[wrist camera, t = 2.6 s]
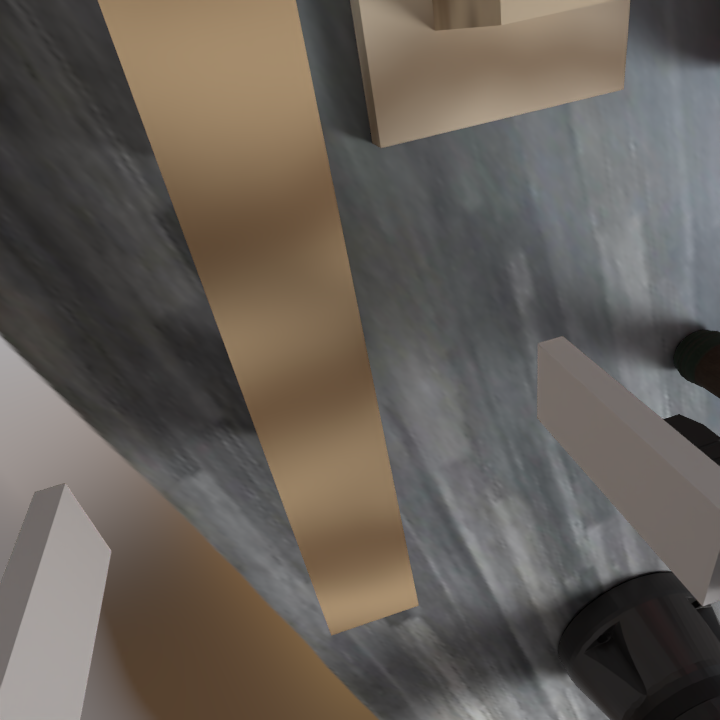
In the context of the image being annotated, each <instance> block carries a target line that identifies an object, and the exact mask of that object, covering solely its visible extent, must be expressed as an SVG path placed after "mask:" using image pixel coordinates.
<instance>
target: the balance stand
mask: <svg viewBox="0 0 720 720" xmlns="http://www.w3.org/2000/svg"><path fill="white" fill-rule="evenodd" d="M350 4H351V10H352V17H353V23H354V29H355V36H356V42H357V48H358V55H359V61H360V67H361V74H362V80H363V86H364V93H365V99H366V106H367V112H368V118H369V125H370V131H371V137H372V143H373V144H375V145H377V146H378V147H380V148H383V147H388V146H392V145H396V144H400V143H404V142H408V141H412V140H416V139H421V138H425V137H429V136H433V135H437V134H441V133H445V132H450V131H454V130H458V129H462V128H466V127H470V126H474V125H478V124H483V123H487V122H491V121H495V120H499V119H503V118H507V117H511V116H516V115H520V114H524V113H528V112H532V111H536V110H540V109H544V108H549V107H553V106H557V105H561V104H565V103H569V102H573V101H578V100H582V99H586V98H590V97H594V96H598V95H602V94H606V93H611V92H615V91H619V90H623V89H624V77H625V64H626V50H627V37H628V24H629V11H630V0H350Z"/></svg>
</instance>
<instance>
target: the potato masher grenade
mask: <svg viewBox="0 0 720 720" xmlns="http://www.w3.org/2000/svg"><path fill="white" fill-rule="evenodd" d="M674 364H675V366H676V367H677V369H678V371H679V373H680V375H681V376H682V377H684V378H685V379H686V380H687V381H690V382H692V383H695V384H696V385H698V386H700V387H703V388H705V389H706V390H708V391H709V392H711V393H712V394H714V395H715V396H717V397H718V398H720V332H718V331H709V330H700V331H697V332H694V333H692V334H690V335H689V336H687V337H686V338H685V339H684V340H683V341H682V342H681V343H680V344H679V346H678V347H677V349H676V352H675V355H674Z"/></svg>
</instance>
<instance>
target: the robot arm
mask: <svg viewBox="0 0 720 720" xmlns="http://www.w3.org/2000/svg"><path fill="white" fill-rule="evenodd" d="M537 418H538V419H539V421H540V422H541V423H542V424H543V425H544V426H545V427H546V428H547V430H548V431H549V432H550V433H551V434H552V435H553V436H554V438H555V439H556V440H557V441H558V442H559V443H560V444H561V446H562V447H563V448H564V449H565V450H566V451H567V452H568V454H569V455H570V456H571V457H572V458H573V459H574V460H575V462H576V463H577V464H578V465H579V466H580V467H581V468H582V470H583V471H584V472H585V473H586V474H587V475H588V476H589V477H590V479H591V480H592V481H593V482H594V483H595V484H596V485H597V487H598V488H599V489H600V490H601V491H602V492H603V493H604V495H605V496H606V497H607V498H608V499H609V500H610V501H611V503H612V504H613V505H614V506H615V507H616V508H617V509H618V511H619V512H620V513H621V514H622V515H623V516H624V517H625V519H626V520H627V521H628V522H629V523H630V524H631V525H632V527H633V528H634V529H635V530H636V531H637V532H638V533H639V534H640V536H641V537H642V538H643V539H644V540H645V541H646V542H647V544H648V545H649V546H650V547H651V548H652V549H653V550H654V552H655V553H656V554H657V555H658V556H659V557H660V558H661V560H662V561H663V562H664V563H665V564H666V565H667V566H668V568H669V569H670V570H671V571H672V572H673V573H656V574H650V575H646V576H642V577H639V578H636V579H633V580H630V581H628V582H626V583H623V584H621V585H619V586H617V587H615V588H613V589H611V590H610V591H608V592H606V593H605V594H603V595H601V596H600V597H598V598H597V599H596V600H594V601H593V602H592V603H590V604H589V605H588V606H587V607H586V608H584V609H583V610H582V611H581V612H580V613H579V614H578V615H577V616H576V617H575V618H574V619H573V621H572V622H571V623H570V624H569V626H568V627H567V629H566V630H565V632H564V634H563V636H562V638H561V640H560V643H559V648H558V654H559V658H560V660H561V662H562V664H563V666H564V668H565V669H566V671H567V673H568V674H569V676H570V678H571V680H572V681H573V682H574V683H575V685H576V686H577V687H578V688H579V689H580V690H581V691H582V692H583V693H584V694H585V695H586V696H587V697H588V698H589V699H590V700H591V701H592V702H593V703H594V704H595V705H596V706H597V707H598V708H599V709H600V710H601V711H602V712H603V713H604V714H605V715H606V716H607V717H608V718H609V719H610V720H720V622H719V620H718V618H717V616H716V614H715V612H714V610H713V608H712V606H711V603H713V602H716V601H719V600H720V437H719V436H717V435H716V434H715V433H714V432H712V431H711V430H710V429H708V428H707V427H706V426H704V425H703V424H701V423H698V422H696V421H694V420H691V419H689V418H687V417H684V416H682V415H680V414H678V415H675V416H672V417H669V418H666V419H662V418H661V417H660V416H658V415H657V414H656V413H655V412H654V411H652V410H651V409H650V408H649V407H647V406H646V405H645V404H644V403H643V402H641V401H640V400H639V399H638V398H637V397H635V396H634V395H633V394H632V393H631V392H629V391H628V390H627V389H626V388H625V387H623V386H622V385H621V384H620V383H619V382H617V381H616V380H615V379H614V378H613V377H611V376H610V375H609V374H608V373H607V372H605V371H604V370H603V369H602V368H600V367H599V366H598V365H597V364H596V363H594V362H593V361H592V360H591V359H590V358H588V357H587V356H586V355H585V354H584V353H582V352H581V351H580V350H579V349H578V348H576V347H575V346H574V345H573V344H572V343H570V342H569V341H568V340H567V339H566V338H564V337H563V336H561V337H558V338H554V339H551V340H548V341H544V342H541V343H538V388H537ZM110 555H111V550H110V548H109V547H108V546H107V544H106V542H105V541H104V539H103V538H102V536H101V535H100V534H99V532H98V531H97V529H96V528H95V526H94V525H93V523H92V522H91V520H90V519H89V517H88V516H87V514H86V513H85V511H84V510H83V509H82V507H81V506H80V504H79V502H78V501H77V500H76V498H75V496H74V495H73V493H72V492H71V490H70V489H69V488H68V486H67V485H66V483H64V484H60V485H57V486H53V487H50V488H47V489H44V490H40V491H37V492H35V493H34V495H33V498H32V501H31V503H30V506H29V509H28V511H27V514H26V516H25V519H24V522H23V525H22V527H21V530H20V532H19V535H18V538H17V541H16V543H15V546H14V548H13V551H12V554H11V557H10V559H9V562H8V565H7V567H6V569H5V572H4V575H3V577H2V580H1V583H0V720H80V718H81V713H82V707H83V702H84V697H85V691H86V686H87V679H88V675H89V669H90V664H91V659H92V653H93V648H94V641H95V637H96V631H97V626H98V621H99V615H100V610H101V604H102V599H103V593H104V588H105V583H106V577H107V572H108V566H109V561H110Z"/></svg>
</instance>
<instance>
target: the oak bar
mask: <svg viewBox="0 0 720 720" xmlns="http://www.w3.org/2000/svg"><path fill="white" fill-rule="evenodd" d="M98 3H99V5H100V8H101V11H102V13H103V16H104V19H105V22H106V24H107V27H108V30H109V32H110V35H111V38H112V41H113V43H114V46H115V49H116V51H117V54H118V57H119V60H120V62H121V65H122V68H123V70H124V73H125V76H126V79H127V81H128V84H129V87H130V89H131V92H132V95H133V98H134V100H135V103H136V106H137V108H138V111H139V114H140V117H141V119H142V122H143V125H144V127H145V130H146V133H147V136H148V138H149V141H150V144H151V146H152V149H153V152H154V155H155V157H156V160H157V163H158V165H159V168H160V171H161V174H162V176H163V179H164V182H165V184H166V187H167V190H168V193H169V195H170V198H171V201H172V203H173V206H174V209H175V212H176V214H177V217H178V220H179V223H180V225H181V228H182V231H183V233H184V236H185V239H186V242H187V244H188V247H189V250H190V252H191V255H192V258H193V261H194V263H195V266H196V269H197V271H198V274H199V277H200V280H201V282H202V285H203V288H204V290H205V293H206V296H207V299H208V301H209V304H210V307H211V309H212V312H213V315H214V318H215V320H216V323H217V326H218V328H219V331H220V334H221V337H222V339H223V342H224V345H225V347H226V350H227V353H228V356H229V358H230V361H231V364H232V366H233V369H234V372H235V375H236V377H237V380H238V383H239V385H240V388H241V391H242V394H243V396H244V399H245V402H246V404H247V407H248V410H249V413H250V415H251V418H252V421H253V423H254V426H255V429H256V432H257V434H258V437H259V440H260V443H261V445H262V448H263V451H264V453H265V456H266V459H267V462H268V464H269V467H270V470H271V472H272V475H273V478H274V481H275V483H276V486H277V489H278V491H279V494H280V497H281V500H282V502H283V505H284V508H285V510H286V513H287V516H288V519H289V521H290V524H291V527H292V529H293V532H294V535H295V538H296V540H297V543H298V546H299V548H300V551H301V554H302V557H303V559H304V562H305V565H306V567H307V570H308V573H309V576H310V578H311V581H312V584H313V586H314V589H315V592H316V595H317V597H318V600H319V603H320V605H321V608H322V611H323V614H324V616H325V619H326V622H327V624H328V627H329V630H330V633H331V635H334V634H337V633H340V632H343V631H346V630H349V629H352V628H355V627H357V626H360V625H363V624H366V623H369V622H372V621H375V620H378V619H381V618H384V617H387V616H390V615H393V614H395V613H398V612H401V611H404V610H407V609H410V608H413V607H416V606H419V605H418V600H417V595H416V590H415V585H414V581H413V576H412V571H411V566H410V561H409V556H408V551H407V546H406V541H405V536H404V531H403V526H402V521H401V517H400V512H399V507H398V502H397V497H396V492H395V487H394V482H393V477H392V472H391V467H390V462H389V457H388V452H387V448H386V443H385V438H384V433H383V428H382V423H381V418H380V413H379V408H378V403H377V398H376V393H375V388H374V384H373V379H372V374H371V369H370V364H369V359H368V354H367V349H366V344H365V339H364V334H363V329H362V324H361V320H360V315H359V310H358V305H357V300H356V295H355V290H354V285H353V280H352V275H351V270H350V265H349V260H348V256H347V251H346V246H345V241H344V236H343V231H342V226H341V221H340V216H339V211H338V206H337V201H336V196H335V191H334V187H333V182H332V177H331V172H330V167H329V162H328V157H327V152H326V147H325V142H324V137H323V132H322V127H321V123H320V118H319V113H318V108H317V103H316V98H315V93H314V88H313V83H312V78H311V73H310V68H309V63H308V59H307V54H306V49H305V44H304V39H303V34H302V29H301V24H300V19H299V14H298V9H297V4H296V0H98Z"/></svg>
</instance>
